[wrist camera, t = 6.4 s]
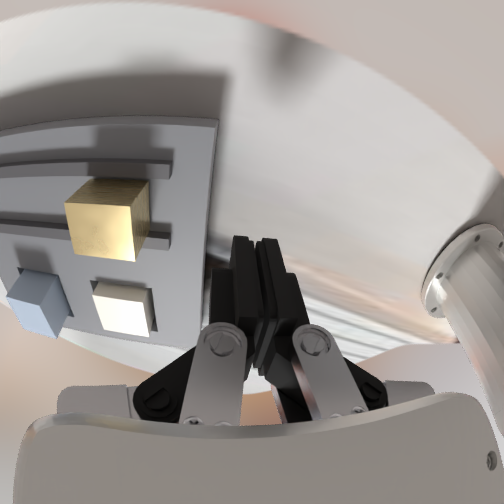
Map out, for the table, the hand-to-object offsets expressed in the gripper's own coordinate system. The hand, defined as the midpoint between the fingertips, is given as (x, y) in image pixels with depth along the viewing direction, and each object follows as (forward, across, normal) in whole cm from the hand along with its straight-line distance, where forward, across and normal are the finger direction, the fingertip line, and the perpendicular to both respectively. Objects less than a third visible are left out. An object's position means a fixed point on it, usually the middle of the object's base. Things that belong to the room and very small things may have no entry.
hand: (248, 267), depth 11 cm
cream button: (+8, +8, +9) cm, 14 cm away
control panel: (+8, +12, +5) cm, 15 cm away
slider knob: (+5, +7, 0) cm, 8 cm away
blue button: (+6, +16, +9) cm, 19 cm away
